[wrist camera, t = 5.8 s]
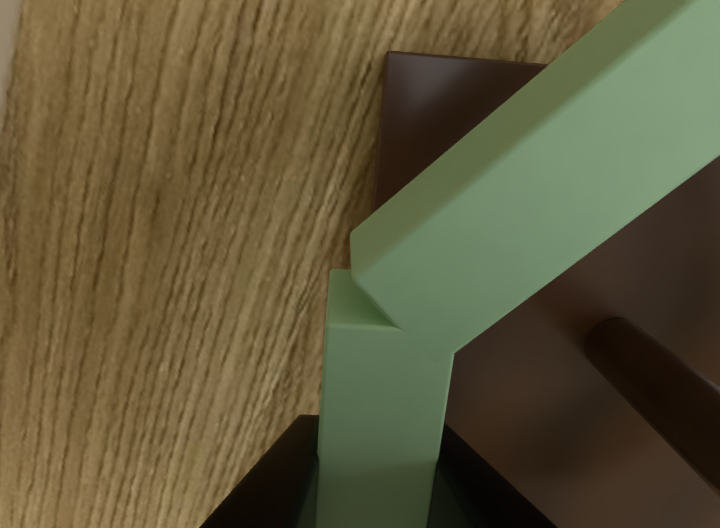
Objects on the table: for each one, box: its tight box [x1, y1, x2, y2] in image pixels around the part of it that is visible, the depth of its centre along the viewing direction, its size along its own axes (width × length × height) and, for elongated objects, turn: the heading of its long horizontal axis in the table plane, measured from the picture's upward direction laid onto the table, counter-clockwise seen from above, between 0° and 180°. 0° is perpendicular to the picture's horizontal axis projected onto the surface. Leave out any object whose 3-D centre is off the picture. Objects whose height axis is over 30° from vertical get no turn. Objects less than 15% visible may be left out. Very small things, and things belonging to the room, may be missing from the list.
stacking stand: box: [371, 51, 720, 528], centre depth 10 cm, size 14×14×8 cm
